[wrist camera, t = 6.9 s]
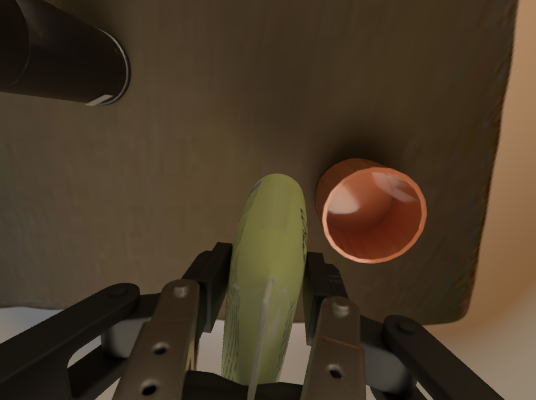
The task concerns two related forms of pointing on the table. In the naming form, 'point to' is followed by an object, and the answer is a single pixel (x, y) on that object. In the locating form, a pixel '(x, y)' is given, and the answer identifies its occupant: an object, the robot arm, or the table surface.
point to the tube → (264, 282)
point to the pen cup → (369, 210)
